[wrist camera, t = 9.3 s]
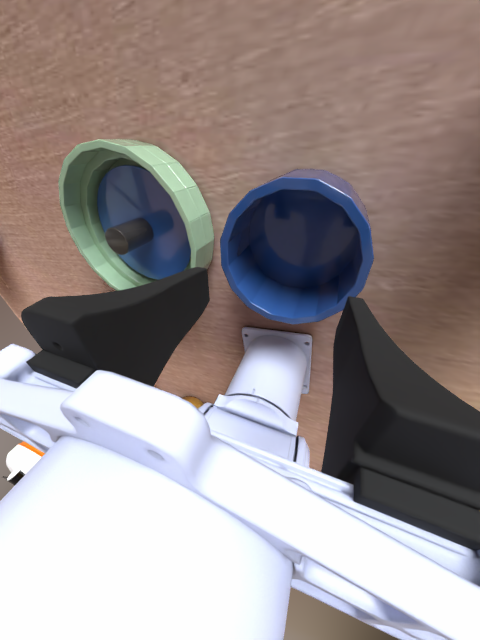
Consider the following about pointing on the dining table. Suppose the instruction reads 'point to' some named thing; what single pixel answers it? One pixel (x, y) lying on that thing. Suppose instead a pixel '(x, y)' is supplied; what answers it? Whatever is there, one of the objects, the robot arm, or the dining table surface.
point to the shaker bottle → (21, 461)
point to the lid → (142, 222)
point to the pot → (298, 247)
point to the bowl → (82, 213)
